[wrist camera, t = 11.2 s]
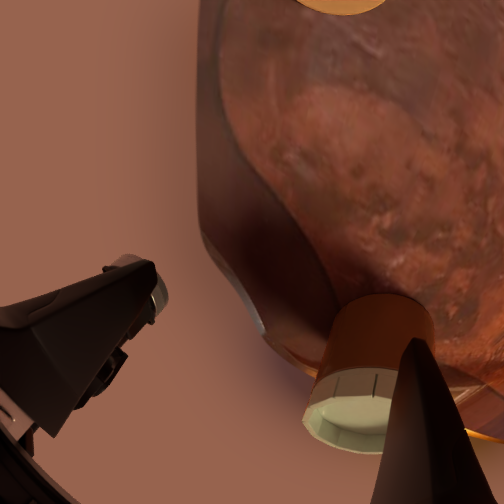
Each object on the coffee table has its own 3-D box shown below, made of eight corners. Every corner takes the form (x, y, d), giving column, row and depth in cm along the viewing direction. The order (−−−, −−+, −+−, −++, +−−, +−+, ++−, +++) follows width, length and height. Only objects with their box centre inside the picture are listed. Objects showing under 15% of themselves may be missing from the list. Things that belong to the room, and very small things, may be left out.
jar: (323, 353, 27) (292, 436, 20) (345, 280, 22) (316, 379, 15) (409, 375, 24) (397, 461, 17) (451, 308, 19) (459, 410, 12)
